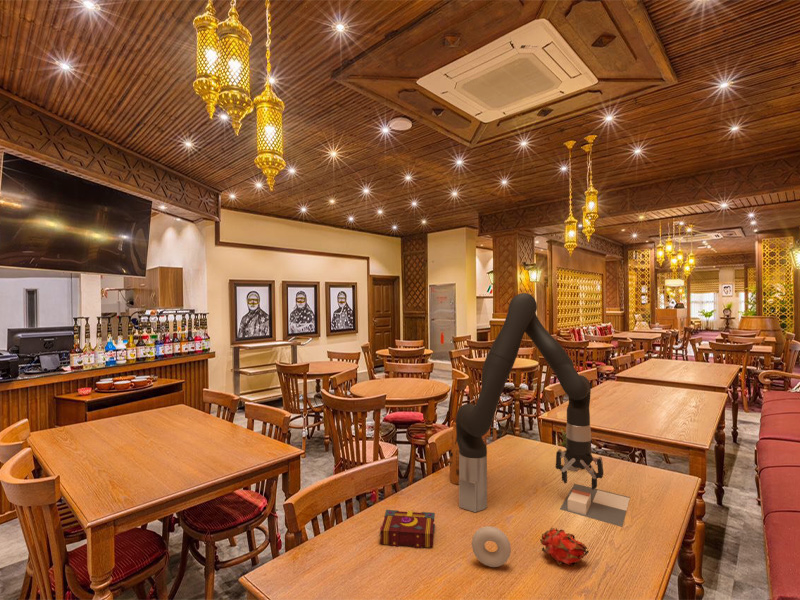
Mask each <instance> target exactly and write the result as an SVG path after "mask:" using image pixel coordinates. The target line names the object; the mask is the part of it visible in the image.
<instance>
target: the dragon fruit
mask: <svg viewBox="0 0 800 600" xmlns="http://www.w3.org/2000/svg"><path fill="white" fill-rule="evenodd" d="M575 538H576V536H575V534H573V533H570V532H568V533H566V532H565V529H560V530H559V529H558V528H557V527H556V528H554V527H551V528H550V529H549V530H546V531H545V532H544V533H541V539H540V538H539V539H540V543H541V545H542V546H543V547H542V548H541V551H542V552H543V553H544V554H547V555H550V556H551V558H552V559H553V560H555V561H556V563H557V564H558V565H559V566H560V565H562V563H564V564H566V565H569V566H571V567H575V566H578V565H579V563H578V562H580V561H581V559H584V557H586V556H587V554H589V550H588V547H587V545H585V543H583V542H582V541H579V540H576V539H575ZM544 546H545V547H544Z"/></svg>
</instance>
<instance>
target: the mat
mask: <svg viewBox="0 0 800 600" xmlns="http://www.w3.org/2000/svg"><path fill="white" fill-rule="evenodd" d="M573 489H574V490H578V491H582V492H586V493H590V494H591V505H590V507H589V509H588V512H587V514H586V515H584V514H580V513H577V512H573V511H570V510H568V498H569V496H570V494H571V492H572V490H573ZM630 498H631V496H627V495H624V494H620V493H615V492H610V491H605V490H602V489H597V488H595V489H594V490H592V486H591V487H589V486H585V485H582V484H578V483H574V484H573V485H572V487H571V489H570V491H569V492H568V494H567V496H565V499H564V501H563V502H562V505H561V506H560V508H559V510H561V511H564V512H567V513H572V514H574V515H578V516H581V517H586V518H589V519H592V520H596V521H599V522H603V523H606V524H610V525H613V526H617V527H620V528H623V526H624V523H625V518H626V515H627V511H628V507H629V502H630Z"/></svg>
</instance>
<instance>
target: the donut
mask: <svg viewBox="0 0 800 600" xmlns="http://www.w3.org/2000/svg"><path fill="white" fill-rule="evenodd" d="M487 542H493V543H495V544H496V547H497V549H496V550H495V551H491V550H490V551H489V550H487V548H486V546H485V544H486V543H487ZM471 548H472V552H473V554H474V556H475V558H476V559H477V560H478V561H479V562H480V563H481V564H482V565H484V566H487V567H490V568H498V567H501V566H503V565H505V564H506V563H507V562H508V560H509V559H510V557H511V552H512V547H511V543H510V540H509V538H508V535H506V533H504V531H502V530H501V529H499V528H498V527H496V526H495V527H494V526H492V525H491V526H490V525H487V526H483V527H480V528H478V529H477V530H476V531H475V532H474V534H473V536H472V539H471Z"/></svg>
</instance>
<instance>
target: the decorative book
mask: <svg viewBox="0 0 800 600" xmlns="http://www.w3.org/2000/svg"><path fill="white" fill-rule="evenodd" d="M383 517H384V519H383V522H382V526H381V527H379V530H380V533H379V536H380V544H381V545H388V546H389V545H390V546H391V547H394V546H395V547H396V548H397V547H398V548H399V546H404V547H413V548H414V549H423V548H430V549H431V548H432V549H433V547H434V535H435V530H436V529H435V528H436V523H435V517H436V513H435V512H427V511H426V512H425V511H422V512H415V511H414V510H407V511H401V510H400V511H399V510H397V509H395V510H393V509H386V510H385V513H384V516H383Z"/></svg>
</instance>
